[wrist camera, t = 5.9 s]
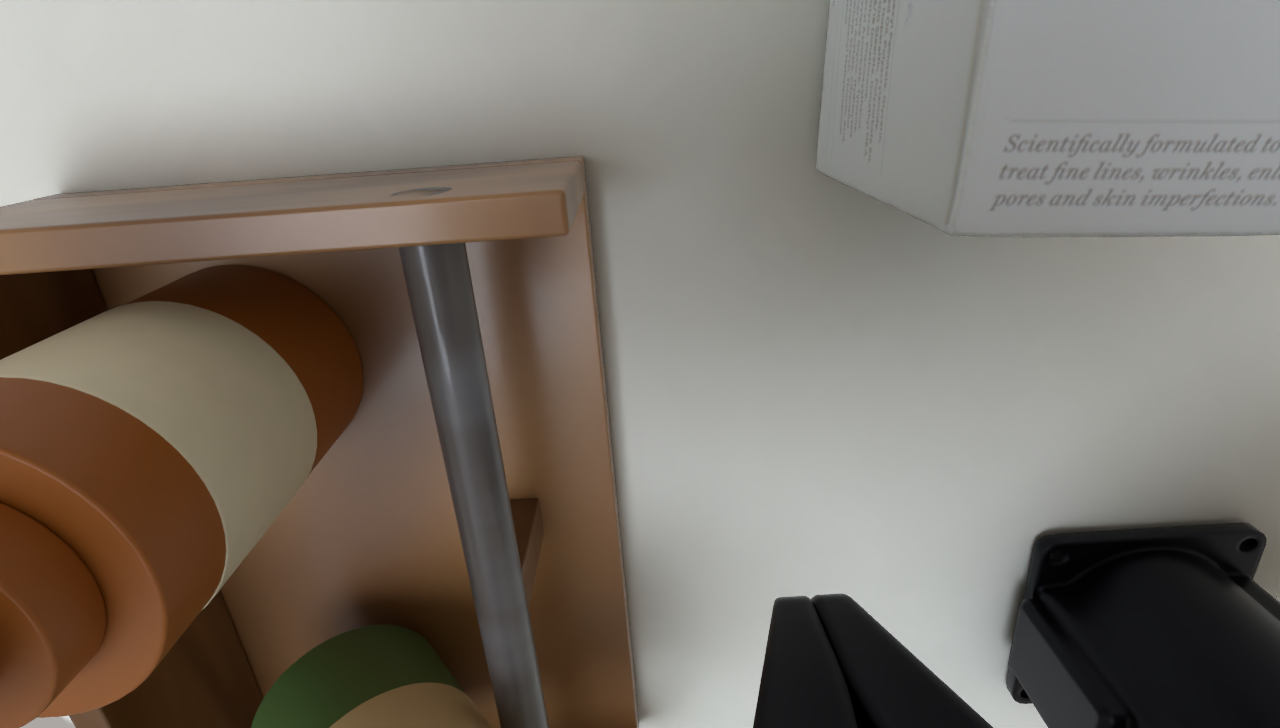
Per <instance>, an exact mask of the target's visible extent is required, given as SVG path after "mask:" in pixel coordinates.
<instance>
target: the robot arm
mask: <svg viewBox="0 0 1280 728" xmlns="http://www.w3.org/2000/svg"><path fill="white" fill-rule="evenodd" d="M1265 545H1266V537H1265V535H1264V534H1263V533H1261V532H1260V531H1259V530H1257V529H1256V528H1255V527H1253V526H1252V525H1250V524H1248V523H1230V524H1214V525H1198V526H1181V527H1165V528H1149V529H1133V530H1117V531H1100V532H1084V533H1068V534H1053V535H1048V536H1045V537H1043V538H1042V539H1040V540H1039V541H1038V542H1037V543H1036V544H1035V547H1034V549H1033V554H1032V559H1031V564H1030V569H1029V574H1028V579H1027V584H1026V589H1025V594H1024V599H1023V602H1022V604H1021V606H1020V607H1019V612H1018V617H1017V622H1016V627H1015V632H1014V637H1013V642H1012V647H1011V652H1010V658H1009V666H1010V668H1009V673H1008V678H1007V689H1008V690H1009V692H1010V694H1011V695H1012V697H1013V698H1014V700H1015V701H1017V702H1019V703H1024V704H1028V703H1033V704H1034V706H1035V707H1036V709H1037V711H1038V712H1039V714H1040V715H1041V717H1042V718H1043V720H1044V722H1045V723H1046V725H1047V726H1048V728H1280V603H1279V602H1278V601H1277V600H1276V599H1275V598H1273V597H1272V596H1271V595H1270V594H1269V593H1267V592H1266V591H1265V590H1264V589H1262V588H1261V587H1260V586H1259V585H1258V584H1256V583H1255V582H1254V581H1253V578H1254V575H1255V572H1256V570H1257V567H1258V564H1259V561H1260V559H1261V556H1262V553H1263V551H1264V548H1265ZM1057 550H1058V551H1057ZM1054 551H1057V552H1055V553H1054V554H1051V553H1053V552H1054ZM753 728H993V727H992V726H991V725H990V724H989V723H987V722H986V721H985V720H984V719H983V718H982V717H981V716H980V715H979V714H978V713H977V712H975V711H974V710H973V709H972V708H971V707H970V706H969V705H968V704H967V703H966V702H964V701H963V700H962V699H961V698H960V697H959V696H958V695H957V694H956V693H955V692H954V691H952V690H951V689H950V688H949V687H948V686H947V685H946V684H945V683H944V682H943V681H942V680H940V679H939V678H938V677H937V676H936V675H935V674H934V673H933V672H932V671H931V670H929V669H928V668H927V667H926V666H925V665H924V664H923V663H922V662H921V661H920V660H919V659H917V658H916V657H915V656H914V655H913V654H912V653H911V652H910V651H909V650H908V649H907V648H905V647H904V646H903V645H902V644H901V643H900V642H899V641H898V640H897V639H896V638H895V637H893V636H892V635H891V634H890V633H889V632H888V631H887V630H886V629H885V628H884V627H882V626H881V625H880V624H879V623H878V622H877V621H876V620H875V619H874V618H873V617H872V616H870V615H869V614H868V613H867V612H866V611H865V610H864V609H863V608H862V607H861V606H860V605H858V604H857V603H856V602H855V601H854V600H853V599H852V598H851V597H849V596H847V595H845V594H828V595H816V596H814V597H813V598H812V599H811V600H810V599H809V598H808V597H806V596H796V597H781V598H777V599H776V600H775V602H774V606H773V612H772V618H771V624H770V630H769V636H768V642H767V648H766V654H765V660H764V666H763V672H762V678H761V684H760V690H759V696H758V702H757V708H756V713H755V719H754V725H753Z"/></svg>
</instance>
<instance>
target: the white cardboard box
mask: <svg viewBox="0 0 1280 728" xmlns="http://www.w3.org/2000/svg"><path fill="white" fill-rule="evenodd" d="M816 168H817V170H818V171H819V172H821V173H823V174H825V175H827V176H829V177H831V178H833V179H835V180H837V181H839V182H841V183H843V184H846V185H848V186H850V187H852V188H854V189H856V190H858V191H860V192H863V193H865V194H867V195H869V196H871V197H873V198H875V199H877V200H880V201H882V202H884V203H886V204H888V205H890V206H892V207H894V208H896V209H898V210H900V211H903V212H905V213H907V214H909V215H911V216H913V217H915V218H917V219H919V220H922V221H924V222H926V223H928V224H930V225H932V226H934V227H936V228H938V229H940V230H942V231H943V232H945V233H947V234H949V235H954V236H994V237H1148V236H1252V235H1280V0H830V5H829V20H828V30H827V41H826V52H825V62H824V75H823V87H822V99H821V112H820V121H819V133H818V146H817V161H816Z"/></svg>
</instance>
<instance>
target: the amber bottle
mask: <svg viewBox="0 0 1280 728" xmlns="http://www.w3.org/2000/svg"><path fill="white" fill-rule="evenodd" d="M362 390H363V374H362V366H361V361H360V357H359V353H358V350H357V348H356V345H355V343H354V341H353V338H352V337H351V335H350V333H349V331H348V330H347V328H346V326H345V325H344V324H343V322H342V321H341V319H340V318H339V317H338V315H337V314H336V313H335V312H334V311H333V310H332V309H331V308H330V307H329V306H328V305H327V304H326V303H325V302H324V301H323V300H322V299H321V298H319V297H318V296H317V295H316V294H315V293H313V292H312V291H310V290H309V289H307V288H306V287H304V286H303V285H301V284H299V283H297V282H296V281H294V280H292V279H290V278H288V277H285V276H283V275H280V274H278V273H276V272H272V271H269V270H265V269H262V268H257V267H251V266H244V265H223V266H214V267H210V268H205V269H201V270H199V271H196V272H194V273H191V274H189V275H186V276H184V277H182V278H180V279H178V280H176V281H174V282H171V283H169V284H167V285H165V286H163V287H161V288H159V289H156V290H154V291H152V292H150V293H148V294H146V295H144V296H141V297H139V298H137V299H135V300H133V301H131V302H128V303H126V304H124V305H122V306H118V307H116V308H113V309H111V310H108V311H105V312H103V313H101V314H99V315H97V316H94V317H92V318H90V319H88V320H86V321H84V322H81V323H79V324H77V325H75V326H73V327H71V328H68V329H66V330H64V331H62V332H60V333H58V334H55V335H53V336H51V337H49V338H47V339H45V340H42V341H40V342H38V343H36V344H34V345H32V346H29V347H27V348H25V349H23V350H21V351H19V352H16V353H14V354H12V355H10V356H8V357H6V358H3V359H1V360H0V728H19V727H22V726H24V725H26V724H27V723H29V722H30V721H32V720H33V719H35V718H37V717H41V718H43V717H58V716H67V715H73V714H79V713H84V712H88V711H91V710H94V709H98V708H101V707H103V706H106V705H108V704H110V703H112V702H115V701H117V700H119V699H121V698H122V697H124V696H125V695H127V694H128V693H130V692H132V691H133V690H135V689H136V688H137V687H138V686H139V685H140V684H142V683H143V682H144V681H145V680H146V679H147V678H148V677H149V676H150V674H151V673H152V672H153V671H154V669H155V668H156V667H157V666H158V664H159V663H160V662H161V661H162V659H163V658H164V657H165V655H166V654H167V653H168V652H169V650H170V649H171V648H172V647H173V645H174V644H175V643H176V642H177V640H178V639H179V638H180V637H181V635H182V634H183V633H184V632H185V630H186V629H187V628H188V627H189V625H190V624H191V623H192V622H193V620H194V619H195V618H196V616H197V615H198V614H199V613H200V612H201V611H202V610H203V609H204V608H205V607H206V606H207V605H208V604H209V603H210V602H211V600H212V599H213V598H214V597H215V595H216V594H217V593H218V592H219V590H220V589H221V588H222V586H223V585H224V584H225V583H226V581H227V580H228V579H229V578H230V576H231V575H232V574H233V573H234V571H235V570H236V569H237V568H238V566H239V565H240V564H241V562H242V561H243V560H244V559H245V557H246V556H247V555H248V554H249V552H250V551H251V550H252V549H253V547H254V546H255V545H256V543H257V542H258V541H259V540H260V538H261V537H262V536H263V535H264V533H265V532H266V531H267V530H268V528H269V527H270V526H271V524H272V523H273V522H274V521H275V519H276V518H277V517H278V516H279V514H280V513H281V512H282V511H283V509H284V508H285V507H286V506H287V504H288V503H289V502H290V500H291V499H292V498H293V497H294V495H295V494H296V493H297V492H298V490H299V489H300V488H301V486H302V485H303V484H304V483H305V481H306V479H307V477H308V476H309V474H310V473H311V472H312V471H313V469H314V468H315V467H316V465H317V464H318V463H319V462H320V460H321V459H322V458H323V457H324V455H325V454H326V453H327V452H328V450H329V449H330V448H331V447H332V445H333V444H334V443H335V442H336V440H337V439H338V438H339V437H340V435H341V434H342V433H343V432H344V430H345V429H346V428H347V426H348V425H349V424H350V422H351V421H352V419H353V417H354V416H355V414H356V412H357V409H358V407H359V404H360V401H361V395H362Z"/></svg>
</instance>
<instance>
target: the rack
mask: <svg viewBox="0 0 1280 728" xmlns="http://www.w3.org/2000/svg"><path fill="white" fill-rule="evenodd" d="M223 265H244V266H251V267H257V268H262V269H265V270H269V271H272V272H276V273H278V274H280V275H283V276H285V277H288V278H290V279H292V280H294V281H296V282H297V283H299V284H301V285H303V286H304V287H306V288H307V289H309V290H310V291H312V292H313V293H315V294H316V295H317V296H318V297H319V298H321V299H322V300H323V301H324V302H325V303H326V304H327V305H328V306H329V307H330V308H331V309H332V310H333V311H334V312H335V313H336V314H337V315H338V317H339V318H340V319H341V321H342V322H343V324H344V325H345V326H346V328H347V330H348V331H349V333H350V335H351V337H352V338H353V341H354V343H355V345H356V348H357V350H358V353H359V357H360V361H361V366H362V374H363V390H362V395H361V401H360V404H359V407H358V409H357V412H356V414H355V416H354V417H353V419H352V421H351V422H350V424H349V425H348V426H347V428H346V429H345V430H344V432H343V433H342V434H341V435H340V437H339V438H338V439H337V440H336V442H335V443H334V444H333V445H332V447H331V448H330V449H329V450H328V452H327V453H326V454H325V455H324V457H323V458H322V459H321V460H320V462H319V463H318V464H317V465H316V467H315V468H314V469H313V471H312V472H311V473H310V474H309V476H308V477H307V479H306V481H305V483H304V484H303V485H302V486H301V488H300V489H299V490H298V492H297V493H296V494H295V495H294V497H293V498H292V499H291V500H290V502H289V503H288V504H287V506H286V507H285V508H284V509H283V511H282V512H281V513H280V514H279V516H278V517H277V518H276V519H275V521H274V522H273V523H272V524H271V526H270V527H269V528H268V530H267V531H266V532H265V533H264V535H263V536H262V537H261V538H260V540H259V541H258V542H257V543H256V545H255V546H254V547H253V549H252V550H251V551H250V552H249V554H248V555H247V556H246V557H245V559H244V560H243V561H242V562H241V564H240V565H239V566H238V568H237V569H236V570H235V571H234V573H233V574H232V575H231V576H230V578H229V579H228V580H227V581H226V583H225V584H224V585H223V586H222V588H221V589H220V590H219V592H218V593H217V594H216V595H215V597H214V598H213V599H212V600H211V602H210V603H209V604H208V605H207V606H206V607H205V608H204V609H203V610H202V611H201V612H200V613H199V614H198V615H197V616H196V618H195V619H194V620H193V622H192V623H191V624H190V625H189V627H188V628H187V629H186V630H185V632H184V633H183V634H182V635H181V637H180V638H179V639H178V640H177V642H176V643H175V644H174V645H173V647H172V648H171V649H170V650H169V652H168V653H167V654H166V655H165V657H164V658H163V659H162V661H161V662H160V663H159V664H158V666H157V667H156V668H155V669H154V671H153V672H152V673H151V674H150V676H149V677H148V678H147V679H146V680H145V681H144V682H143V683H142V684H140V685H139V686H138V687H137V688H136V689H135V690H133V691H132V692H130V693H128V694H127V695H125V696H124V697H122V698H121V699H119V700H117V701H115V702H112V703H110V704H108V705H106V706H103V707H101V708H98V709H94V710H91V711H88V712H84V713H79V714H73V715H69V716H70V718H71V720H72V722H73V724H74V725H75V727H76V728H251V726H252V722H253V720H254V717H255V714H256V712H257V710H258V708H259V706H260V704H261V702H262V700H263V698H264V697H265V695H266V694H267V692H268V691H269V690H270V688H271V687H272V685H273V684H274V683H275V682H276V681H277V679H278V678H279V677H280V676H281V675H282V674H283V673H284V672H285V671H286V670H287V669H288V668H289V667H290V666H291V665H292V664H293V663H294V662H296V661H297V660H298V659H299V658H300V657H302V656H303V655H304V654H306V653H307V652H308V651H310V650H311V649H313V648H314V647H316V646H317V645H319V644H321V643H323V642H324V641H326V640H328V639H330V638H332V637H334V636H337V635H339V634H341V633H344V632H347V631H350V630H352V629H356V628H360V627H364V626H371V625H396V626H401V627H405V628H408V629H411V630H413V631H415V632H417V633H418V634H420V635H421V636H422V637H424V638H425V639H426V640H427V641H428V643H429V644H430V645H431V646H432V648H433V649H434V651H435V652H436V653H437V655H438V656H439V657H440V659H441V660H442V662H443V663H444V664H445V666H446V667H447V669H448V670H449V671H450V673H451V674H452V675H453V677H454V678H455V680H456V681H457V682H458V684H459V685H460V687H461V688H462V689H463V691H464V692H465V693H466V694H467V696H468V697H469V698H470V699H471V700H472V701H473V702H474V704H475V705H476V707H477V708H478V709H479V711H480V712H481V714H482V715H483V716H484V718H485V719H486V720H487V722H488V723H489V725H490V726H491V727H492V728H639V719H638V709H637V699H636V689H635V679H634V668H633V658H632V648H631V638H630V628H629V617H628V607H627V597H626V587H625V576H624V566H623V556H622V546H621V536H620V525H619V515H618V505H617V495H616V485H615V474H614V464H613V454H612V444H611V434H610V423H609V413H608V403H607V393H606V382H605V372H604V362H603V352H602V342H601V331H600V321H599V311H598V301H597V291H596V280H595V270H594V260H593V250H592V239H591V229H590V219H589V209H588V199H587V188H586V178H585V168H584V158H583V157H582V156H578V157H564V158H550V159H536V160H523V161H509V162H495V163H481V164H467V165H454V166H440V167H426V168H412V169H398V170H385V171H371V172H357V173H343V174H329V175H316V176H302V177H288V178H274V179H260V180H247V181H233V182H219V183H205V184H192V185H178V186H164V187H150V188H136V189H123V190H109V191H95V192H81V193H67V194H56V195H52V196H47V197H42V198H38V199H34V200H30V201H25V202H21V203H16V204H12V205H7V206H3V207H0V360H1V359H3V358H6V357H8V356H10V355H12V354H14V353H16V352H19V351H21V350H23V349H25V348H27V347H29V346H32V345H34V344H36V343H38V342H40V341H42V340H45V339H47V338H49V337H51V336H53V335H55V334H58V333H60V332H62V331H64V330H66V329H68V328H71V327H73V326H75V325H77V324H79V323H81V322H84V321H86V320H88V319H90V318H92V317H94V316H97V315H99V314H101V313H103V312H105V311H108V310H111V309H113V308H116V307H118V306H122V305H124V304H126V303H128V302H131V301H133V300H135V299H137V298H139V297H141V296H144V295H146V294H148V293H150V292H152V291H154V290H156V289H159V288H161V287H163V286H165V285H167V284H169V283H171V282H174V281H176V280H178V279H180V278H182V277H184V276H186V275H189V274H191V273H194V272H196V271H199V270H201V269H205V268H210V267H214V266H223Z"/></svg>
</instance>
